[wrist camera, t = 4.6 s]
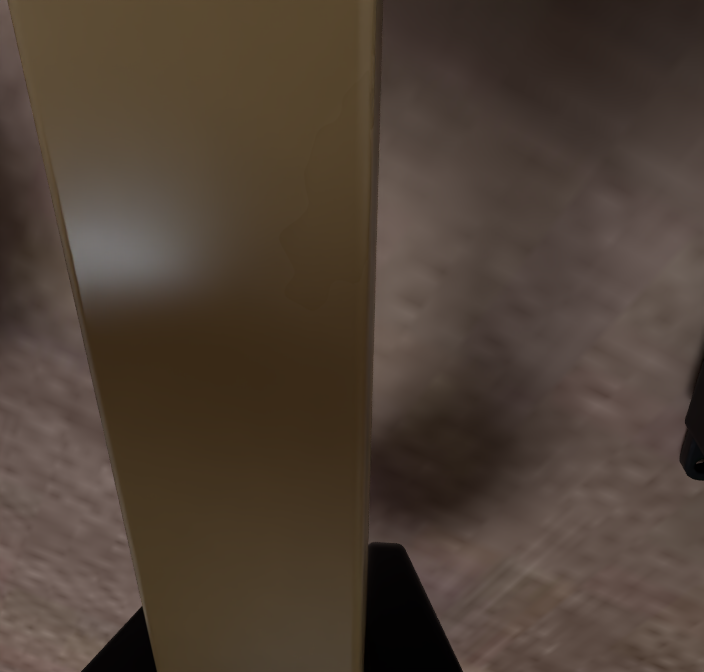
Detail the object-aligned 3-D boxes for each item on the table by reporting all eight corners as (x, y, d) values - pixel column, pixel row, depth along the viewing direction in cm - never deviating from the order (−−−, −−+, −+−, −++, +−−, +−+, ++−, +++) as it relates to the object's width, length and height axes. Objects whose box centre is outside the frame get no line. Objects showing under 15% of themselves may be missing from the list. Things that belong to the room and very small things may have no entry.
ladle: (111, -121, 8) (-556, -281, 2) (553, -119, 7) (949, -297, 2) (237, 765, 17) (161, 1142, 12) (436, 779, 17) (453, 1172, 11)
